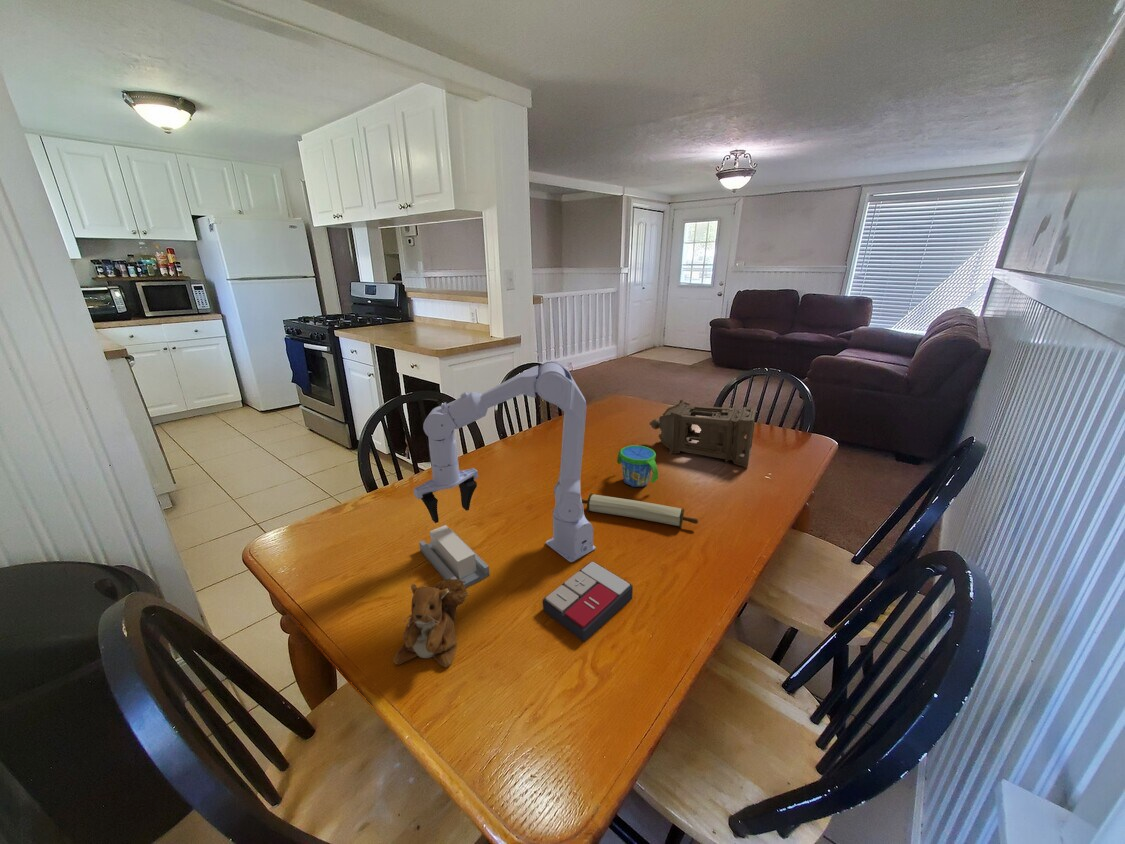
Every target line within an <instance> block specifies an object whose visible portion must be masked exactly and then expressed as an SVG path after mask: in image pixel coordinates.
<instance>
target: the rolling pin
mask: <svg viewBox="0 0 1125 844" xmlns="http://www.w3.org/2000/svg"><path fill="white" fill-rule="evenodd" d="M581 499H582V498H581ZM582 504H583V505H584V504H586V511H587V512H593V513H594V512H595V513H601V514H608V515H613V516H614V515H615V516H620V517H626V518H627V517H628V518H632V519H638V520H644V521H649V522H655V523H660V524H664V525H669V526H670V525H671V526H674V527H675V526H676V527H679V529H681V528H682V527H683V522H684V521H685V522H688V523H691V524H698V523H699V519H697V518H694V517H689V516H688V517H687V516H685V508H684V507H682V508H680V507H674V506H668V505H664V504H659V503H654V502H653V503H652V502H646V501H640V500H634V499H628V498H627V499H626V498H620V497H615V496H608V495H600V494H594V493H591V492H590V493H589V495H588V498H587V499H582Z"/></svg>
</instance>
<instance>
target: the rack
mask: <svg viewBox="0 0 1125 844" xmlns="http://www.w3.org/2000/svg"><path fill="white" fill-rule="evenodd" d="M449 529H450V530H451V531H452V532H453V533H454V534H455V535H456V536H457V537H459V538H460V539H461V540H462V541H463V542H464V543H465V544H466V545H467V546H468V547H469V548H470V549H471V550H472V551H473V552H474V553H475V560H476V570H477V571H475V572H473V573H471V574H469V575H467V576H465V577H463V578H461V579H459V578H458V577H457V576H456V574H455V573H454V572H453V571H452V570H451V569H450V568H449V566H448V565H447V564H446V563H445V562H444V561H443V560H442V558H441V557H440V556H439V555H438V554H437V553H436V552H435V550H434V549H433V548H432V545H431V542H429V543H427V542H426V541H425V540H424V539H423V540H420V541H419V542H418V543H419V549H420V552H421V553H422V554H423V556H424V557H425V558H426V559H427V560H428V561H429V563H430V564H431V565H432V567H434V569H435V570H436V571H437V572H438V573H439V575H440V576H441V577H442V578H443V580H447V579H458V580H460V581H461V580H463V581H465V582H466V583H463V585H465V587H466V589H467V588H468V587H470V586H472V585H474V584H476V583H478V582H480V581H483V580H484V579H486V578H488V577H490V565H488V564H487V563H486V562H485V561H484V560H483V559H482V558H481V557H480V556H479V554H477V553H476V552H475V551H474V550H473V549H472V548H471V547H470V545H468V544H467V543H466V542H465V541H464V540H463V539H462V538H461V537H460V536H458V534H457V533H455V531H453V529H452V528H449Z"/></svg>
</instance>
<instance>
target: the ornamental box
mask: <svg viewBox="0 0 1125 844" xmlns="http://www.w3.org/2000/svg"><path fill="white" fill-rule="evenodd" d="M757 408H758V407H757V406H744V407H742V408H741V409H739V408H737V407H736V405H734V407H719V406H718V407H716V406H700V405H691V402H687V401H685V399H679V403H677V404H675V405H672V406H670V407H667V409H666V410H665V411H664V412H663V413H662V415H660V416H659V417H658V418H655V419H652V420H651V421H650V422H649V425H650V426H651V428H652V429H653V430H659V429H660V433H659V435H658V438H659V440H660V442H662V445H663V446H665V447H666V449H669V454H671V455H673V454H674V455H676V454H681V452H684V453H689V454H695V455H700V456H705V457H710V458H715V459H716V458H717V459H722V460H724V461H725V462H724V463H725V464H726V463H727V461H732V462H733V464H734V465H737V466H740V467H743V468H745V469H748V467H749V463H750V462H749V461H750V458H751V457H750V456H751V453H752V447H753V446H752V445H753V438H754V432H755V431H754V430H755V422H756V415H757ZM693 425H696V426H698V428H699V429H700V430H699V432H698V431H697V432H696V430H695V429H692V426H693ZM692 441H696V442H692Z"/></svg>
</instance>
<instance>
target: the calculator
mask: <svg viewBox="0 0 1125 844" xmlns="http://www.w3.org/2000/svg"><path fill="white" fill-rule="evenodd" d="M633 587H634V586H633V584H631V583H630V582H629V581H627V580H625V579H623V578H622V577H620V576H618V575H616V574H615V573H613V572H611V571H610V570H608V569H607V568H605V567H603V566H601V565H600V564H599V563H596V562H595V561H593V560H592V561H589V562H588V563H587V564H586V565H584V566H583V567H582V568H581V569H579V570H578V571H577V572H575V573H574V574H573V575H572V576H570V577H569V578H568V579H566V580H565V581H564V582H563V583H562V584H560V585H559V586H558V587H557V588H555V589H553V591H551V592H550V593H549V594H548V595H546V596H544V598H543V599H542V611H543V613H544V612H545V614H547V615H548V616H549V617H551V618H552V619H554V620H555V622H557V623H559V625H561V626H562V627H564V629H566V630H567V631H568V632H570V633H571V634H572V635H573V636H575V637H576V638H578V639H579V640H580V641H581V642H583V643H584V642H587V640H588V639H590V638H591V637H592V636H593V635H594V634H595V633H596V632H597V631H599V629H601V628H602V627H603V626H604V625H605V624H606V623H607V622H608V621H609V620H610V619H611V618H612V617H613V616H614V615H615V614H616V613H618V612H619V611H620V610H621V609H623V608H624V607H625V606H626V605H627V604H628V603H629V602H631V601H632V600H633V591H634V590H633V589H634V588H633Z"/></svg>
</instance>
